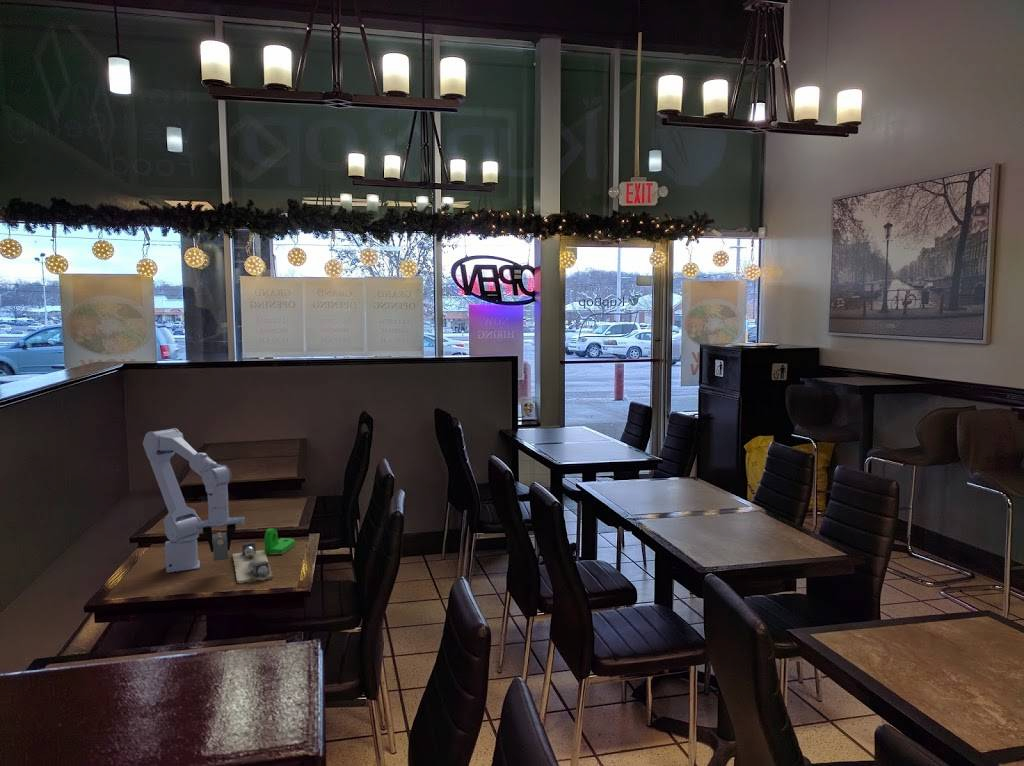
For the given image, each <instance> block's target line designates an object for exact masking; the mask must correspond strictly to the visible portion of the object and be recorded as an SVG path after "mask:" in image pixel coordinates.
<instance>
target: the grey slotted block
mask: <svg viewBox="0 0 1024 766" xmlns="http://www.w3.org/2000/svg"><path fill="white" fill-rule="evenodd" d="M212 543H213V552H212V554H213V561H215V562H216V561H222V560H229V550H228V543H227V531H226V532H217V533H212Z"/></svg>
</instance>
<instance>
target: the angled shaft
mask: <svg viewBox="0 0 1024 766" xmlns="http://www.w3.org/2000/svg"><path fill="white" fill-rule="evenodd" d="M269 566H270V563H269V561H268V562H266V561H264V562H260V563H258V562H256V561H252V562H250V563H249V566H248V568H249V570H251V571H252V572H253V576H254V577H260V576H261V577H266V576H268V574H269Z"/></svg>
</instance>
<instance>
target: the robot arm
mask: <svg viewBox="0 0 1024 766" xmlns="http://www.w3.org/2000/svg"><path fill="white" fill-rule="evenodd" d="M142 445H143V448H144V451H145V453H146V456H147V459H148V461H149V464H150V465H151V468H152V471H153V473H154V477H155V479H156V481H157V485H158V487H159V490H160V492H161V495H162V497H163V500H164V501H163V502H164V503H165V506H166V508H167V511H168V514H167V515H166V516H165V518H164V519H163V524H164V530H165V531H164V533H165V536H166V538H167V539H168V540H167V541H165V542H164V543H165V544H164V546H165V547H164V551H165V554H164V555H165V559H164V565H165V569H166V570H165V572H166V573H174V572H175V571H176V572H183V571H190V570H198V569H201V564H200V563H201V562H200V559H199V554H198V553H199V551H198V538H200V535H199V534H201V532H203V535H204V537H205V539H206V541H207V543H208V545H209V549H210V553H213V540H212V534H213V532H212V531H213V530H212V528H220V527H226V535H227V543H228V551H230V550H231V549H230V548H231V543H232V539H233V537H234V534H235V531H236V529H237V527H236V526H238V525H241V526H245V524H246V523H245V521H246V519H245V517H244V516H239V517H230V515H229V514H230V513H229V512H230V511H229V491H228V490H229V489H228V488H229V487H228V485H229V484H230V482H231V480H232V471H231V469H230V468H229V467H228V465H226V464H218V462H216V461H214V460H213V459H212V458H210V456H208V454H207V453H206V452H198V451H196V450H195V449H194V448H193V447H192V446H191V445H190V444H189V443H188V441H186V440H185V439H184V434H183V432H181V431H180V430H179V429H178V428H176V427H172V428H168V429H163V430H155V431H148V432H146V434H145V435H144V438H143V441H142ZM175 453H176V454H178V455H179V456H181V457H182V458H183V459H185V461H188V464H189V465H188V466H189V467H190V469H191V470H193V471H194V472H195V473H196V474H197V475H199V477H201V479H202V483H203V485H204V488H205V492H206V494H207V508H208V509H207V510H208V512H207V513H208V519H205V520H202V519H201V518H200V517H199V516H198V514H197V511H196V510H195V509H194V508H192V507H189V506H187V504H186V501H185V498H184V496H183V493H182V490H181V487H180V485H179V482H178V479H177V477H176V475H175V472H174V469H173V466H172V464H171V459H172V457H173V456H174V455H175Z"/></svg>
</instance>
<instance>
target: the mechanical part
mask: <svg viewBox="0 0 1024 766" xmlns="http://www.w3.org/2000/svg"><path fill="white" fill-rule="evenodd" d="M278 536H279V535H278V530H277V528H267V529H266V531H265V533H264V539H263V540H264V550H265V553H279V554H280V553H283V552H285V551H286V550H288V549H289V548H290V547H292V546H293V545H294V544H295V539H294V538H288V537H287V538H286V537H284V538H283V537H281V538H279V537H278ZM292 548H293V547H292ZM288 551H289V550H288ZM285 553H286V552H285Z"/></svg>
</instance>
